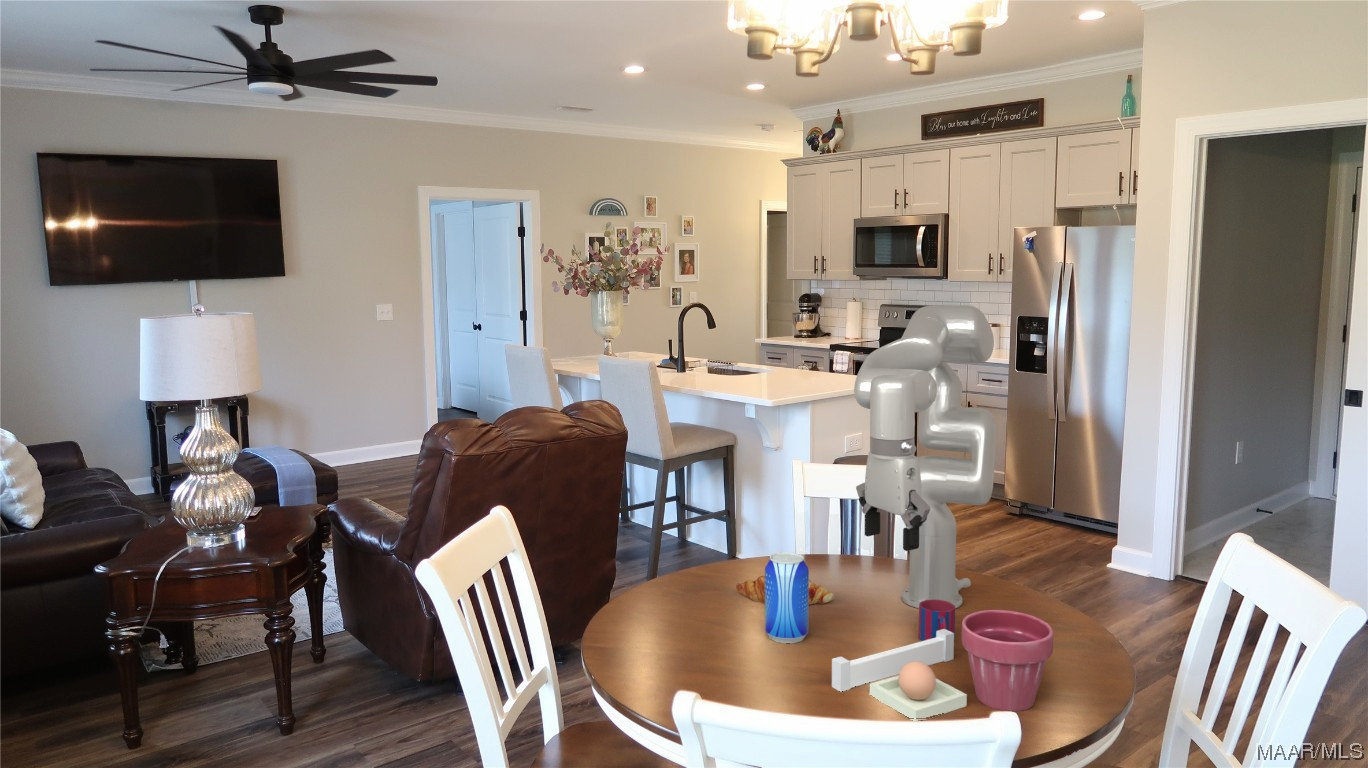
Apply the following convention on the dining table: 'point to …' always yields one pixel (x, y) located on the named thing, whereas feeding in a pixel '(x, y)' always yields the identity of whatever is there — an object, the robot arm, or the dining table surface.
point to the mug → (935, 618)
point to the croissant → (757, 591)
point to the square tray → (935, 704)
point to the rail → (891, 661)
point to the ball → (917, 680)
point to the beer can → (786, 597)
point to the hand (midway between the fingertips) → (891, 541)
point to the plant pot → (1006, 656)
